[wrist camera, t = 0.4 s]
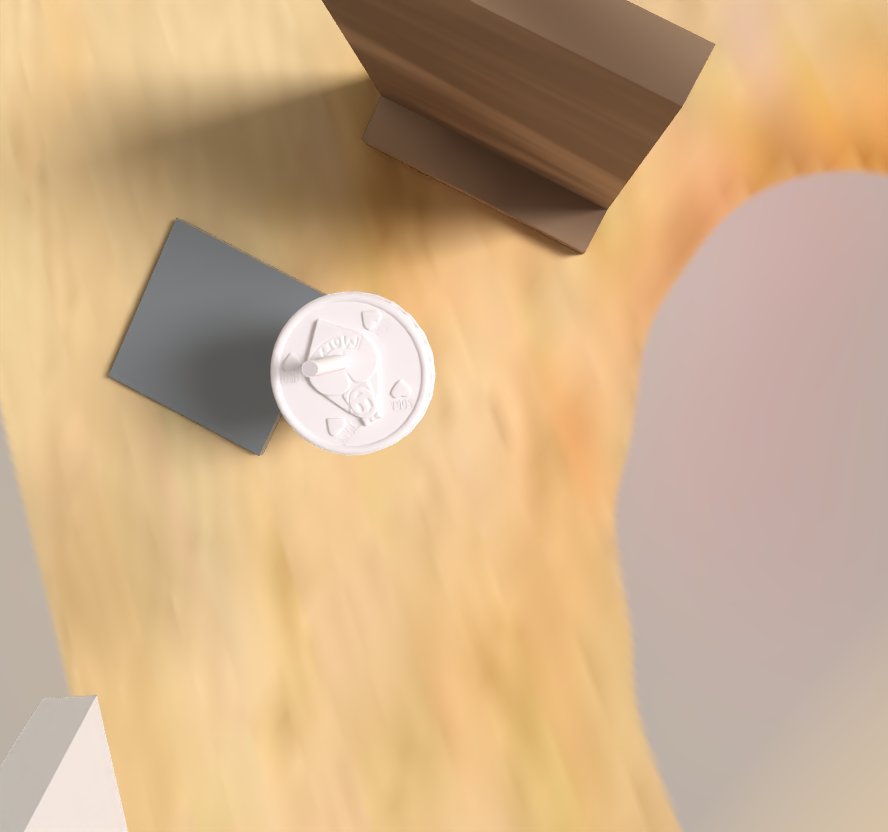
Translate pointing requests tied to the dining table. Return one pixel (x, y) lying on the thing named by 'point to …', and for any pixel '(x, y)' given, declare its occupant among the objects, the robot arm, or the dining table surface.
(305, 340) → the smoothie
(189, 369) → the coaster
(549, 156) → the screen
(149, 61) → the dining table surface
